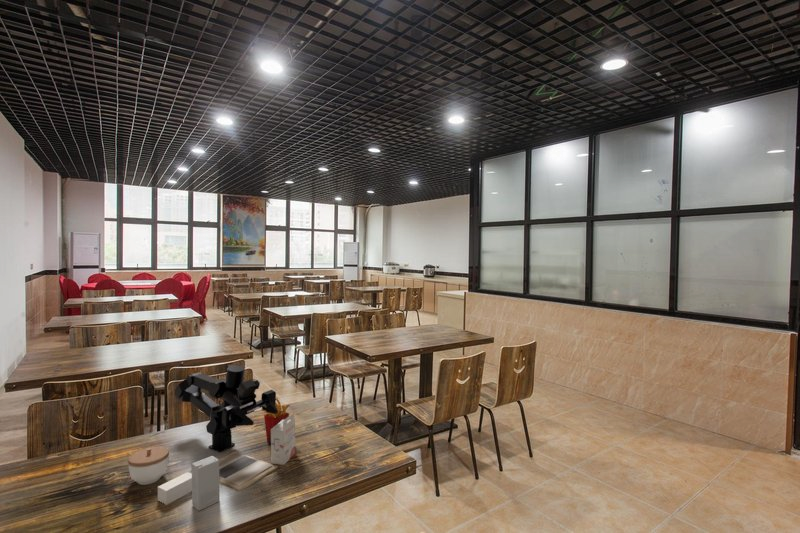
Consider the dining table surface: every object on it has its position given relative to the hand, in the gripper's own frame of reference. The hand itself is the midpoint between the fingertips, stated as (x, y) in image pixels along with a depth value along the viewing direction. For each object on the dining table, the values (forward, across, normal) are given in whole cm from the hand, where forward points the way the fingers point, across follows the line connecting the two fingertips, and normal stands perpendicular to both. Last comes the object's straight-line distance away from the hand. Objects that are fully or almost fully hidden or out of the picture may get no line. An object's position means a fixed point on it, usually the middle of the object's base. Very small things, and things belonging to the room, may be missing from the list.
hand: (265, 417), depth 132 cm
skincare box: (+5, -22, +15) cm, 27 cm away
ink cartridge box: (+2, +7, +18) cm, 19 cm away
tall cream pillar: (-6, -23, +17) cm, 29 cm away
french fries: (-12, +13, +20) cm, 27 cm away
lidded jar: (-20, -26, +19) cm, 38 cm away
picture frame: (-4, -7, +17) cm, 19 cm away
